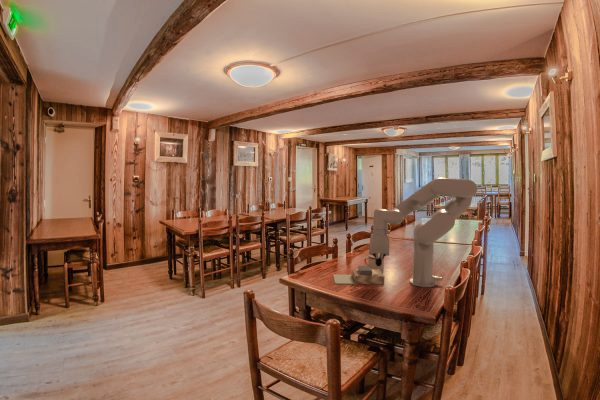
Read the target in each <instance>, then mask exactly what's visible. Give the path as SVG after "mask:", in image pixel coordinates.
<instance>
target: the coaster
mask: <svg viewBox="0 0 600 400" xmlns="http://www.w3.org/2000/svg"><path fill="white" fill-rule="evenodd" d="M357 269H358V271H359V273H360V275H372V270H371V268H370V267H369V266H367V265H357Z"/></svg>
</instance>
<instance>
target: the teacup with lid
mask: <svg viewBox="0 0 600 400" xmlns="http://www.w3.org/2000/svg"><path fill="white" fill-rule="evenodd" d="M379 256H380V254H379V253H378V258H379ZM363 260H364V261H363V262H364V264H365V266H369V267H370V268H371V269H379V270H380V271H381V272H382V273H384V272H385V271H384V266H385V265H384V264H385V263H384V260H385V257H384V258H383V259H382V265H381V267H379V266H377V265H376V258H375V257H374V256H373V255H369V254H368V257H365V258H364V259H363ZM366 260H368V263H367V261H366Z"/></svg>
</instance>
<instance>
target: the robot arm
mask: <svg viewBox="0 0 600 400" xmlns="http://www.w3.org/2000/svg"><path fill="white" fill-rule="evenodd" d="M477 192H478V186H477V184H476V183H475V181H473V180H471V179H466V178H465V179H464V178H462V179H461V178H448V177H436V178H434V179H433V178H432V180H431V181H429V182H428V183H426V184H425V185H423V186H422V187H421V188H419V189H418V190H416V191H415V192H414V193H412V194H411V195H410V196H408V197H407V198H405V199H404V200H403V201H402V202H400V203H399V204H398V205H395V206H394V207H393V208H392V209H391V210H388V209H385V208H376V209H374V210H373V223H372V225H373V227H372V233H371V234H370V238H369V245H368V249H369V250H368V256H369V255H373V256H374V257H375V258H376V265H377V266H379V267H381V265H382V259H383V258H384V259H385V257H388V256H390V237H389V236H390V235H389V234H390V233H391V230H389V229H388V228H389V226H388V225H389V224H390V225H400V224H401V223H403V221H404V218H405V217H407V216H408V215H410V214H411V213H414V212H415V211H417V210H418V211H419V210H421V209H423V208H425V207H426V206H427V205H429V204H430V203H432V202H433V201H434V200H436V199H437V198H439V197H440V196H444V197H452V198H451V199H450V201H448V202H447V203H446V204H444V206H441V208H439V209H438V210H437V211H435V212H434V213H433V214H432V215H431V219H429V220H428V221H426V222H420V223H418V224H417V225H415V227H414V228H413V259H412V260H413V262H412V266H413V267H412V268H413V269H412V277H411V278H410V279H409V283H410V284H411V285H413V286H415V287H419V288H432V287H435V286H437V284H436V283H437V281H438V282H442V281H443V277H442V276H438V275H435V276H434V272H433V271H434V243H435V242H436V241H439V240H440V238H442V237H444V236H445V235H446V234H448V232H450V231H451V230H452V229H453V228H454V226H455V225H456V224H455V223H456V220H457V219H458V218H459V217H461V216H462V215H463V214H464V213H465V212H466V211H467V210H468V209H469V207H470V206H471V204H472V201H473V200H472V199H473V196H475V194H476V193H477ZM378 253H379V254H380V256H379V258H378Z"/></svg>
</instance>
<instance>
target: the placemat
mask: <svg viewBox="0 0 600 400" xmlns="http://www.w3.org/2000/svg"><path fill="white" fill-rule="evenodd" d="M332 275H333V280H334V281H333V282H334V284H335V285H355V282H354V279H353V277H352V274H336V273H335V274H334V273H333V274H332Z"/></svg>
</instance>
